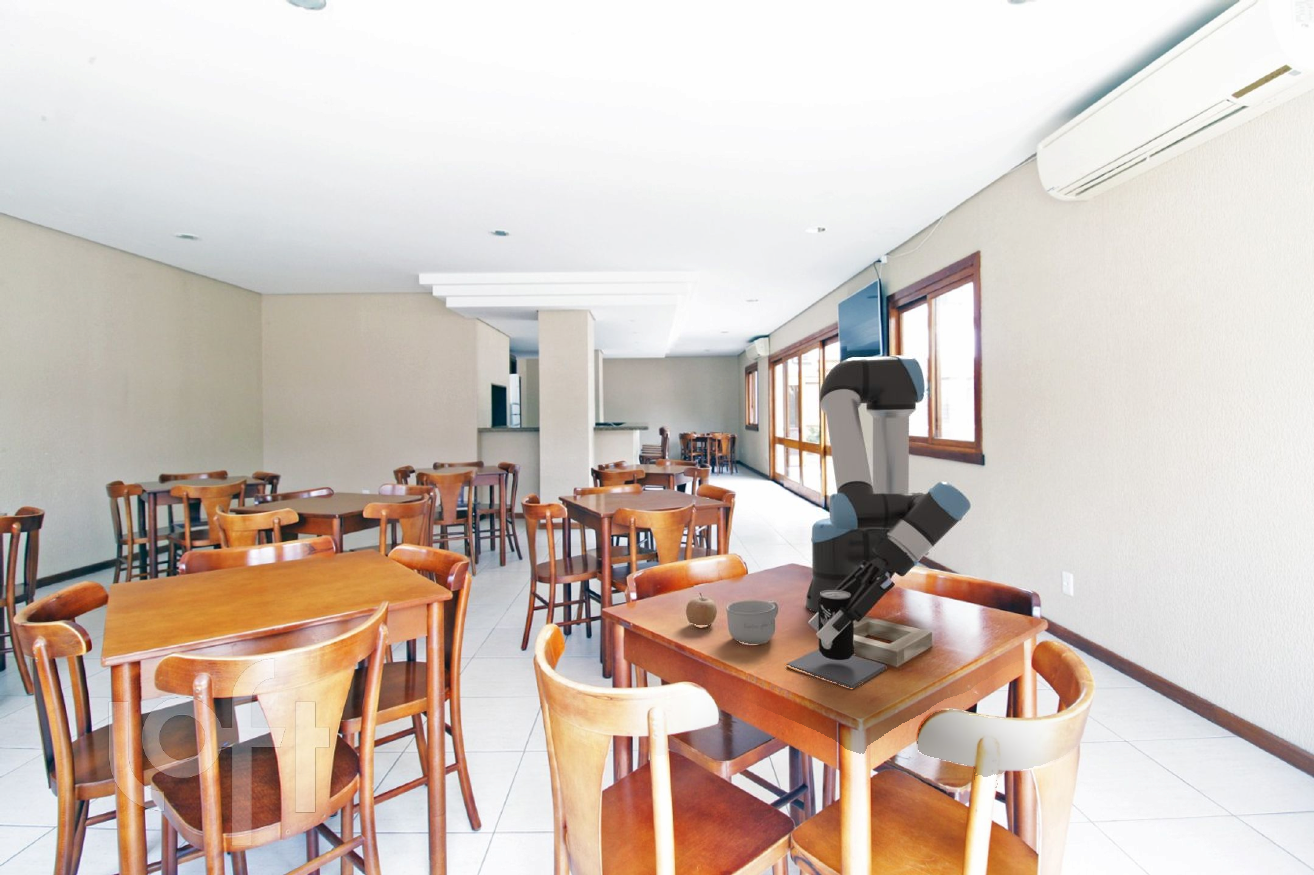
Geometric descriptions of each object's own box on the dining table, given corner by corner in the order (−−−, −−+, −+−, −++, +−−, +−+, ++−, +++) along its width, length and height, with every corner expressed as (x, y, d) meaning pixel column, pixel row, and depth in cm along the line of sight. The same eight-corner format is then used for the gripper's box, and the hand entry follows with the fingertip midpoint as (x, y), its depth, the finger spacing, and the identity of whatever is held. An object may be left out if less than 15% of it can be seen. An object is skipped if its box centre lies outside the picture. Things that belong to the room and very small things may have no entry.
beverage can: (856, 662, 113) (855, 598, 113) (820, 660, 114) (819, 597, 114) (852, 649, 119) (851, 589, 119) (818, 647, 121) (816, 588, 121)
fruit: (681, 623, 146) (680, 591, 146) (708, 619, 149) (707, 587, 148) (694, 633, 139) (694, 599, 139) (722, 628, 141) (722, 595, 141)
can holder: (825, 646, 129) (824, 632, 129) (862, 628, 140) (862, 615, 140) (897, 666, 117) (897, 651, 117) (932, 645, 128) (932, 631, 128)
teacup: (745, 653, 126) (745, 615, 126) (717, 637, 136) (716, 602, 135) (797, 641, 132) (796, 605, 132) (766, 627, 142) (766, 593, 142)
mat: (786, 667, 118) (786, 663, 118) (822, 650, 127) (822, 646, 127) (851, 689, 108) (851, 685, 108) (886, 669, 116) (886, 664, 116)
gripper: (936, 574, 106) (844, 666, 107) (896, 552, 126) (819, 630, 127) (905, 545, 106) (814, 636, 107) (870, 527, 126) (794, 605, 127)
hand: (817, 633), depth 117 cm, fingers closed on beverage can, 6 cm apart
